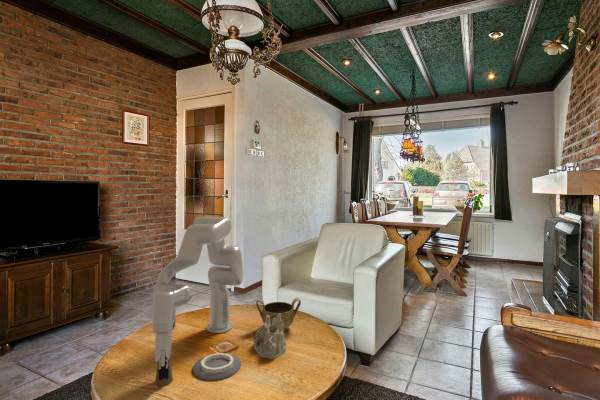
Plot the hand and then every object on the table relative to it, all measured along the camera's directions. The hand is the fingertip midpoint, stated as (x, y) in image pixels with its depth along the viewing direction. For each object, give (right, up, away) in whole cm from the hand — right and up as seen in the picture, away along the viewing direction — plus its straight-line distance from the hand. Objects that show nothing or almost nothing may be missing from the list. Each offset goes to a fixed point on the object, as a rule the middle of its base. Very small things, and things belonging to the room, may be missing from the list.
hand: (164, 374), depth 118 cm
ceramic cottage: (+35, -2, +26) cm, 44 cm away
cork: (0, -2, 0) cm, 2 cm away
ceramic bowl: (+38, -2, +47) cm, 60 cm away
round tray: (+17, -2, +10) cm, 20 cm away
